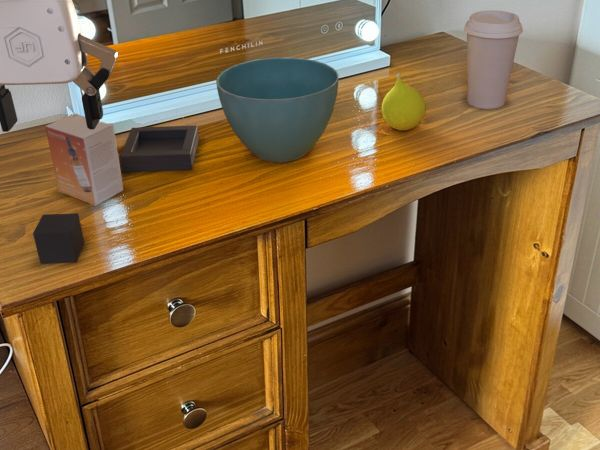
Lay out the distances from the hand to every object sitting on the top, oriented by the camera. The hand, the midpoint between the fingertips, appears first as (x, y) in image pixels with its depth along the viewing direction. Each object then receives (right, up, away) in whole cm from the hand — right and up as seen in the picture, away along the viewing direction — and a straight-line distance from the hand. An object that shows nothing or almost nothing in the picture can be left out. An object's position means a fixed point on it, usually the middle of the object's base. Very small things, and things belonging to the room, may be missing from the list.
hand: (52, 125), depth 87 cm
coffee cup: (+61, +10, +48) cm, 78 cm away
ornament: (+45, +4, +39) cm, 60 cm away
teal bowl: (+25, 0, +33) cm, 42 cm away
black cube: (-2, -15, +10) cm, 18 cm away
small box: (-2, -7, +24) cm, 25 cm away
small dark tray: (+7, 0, +33) cm, 34 cm away
